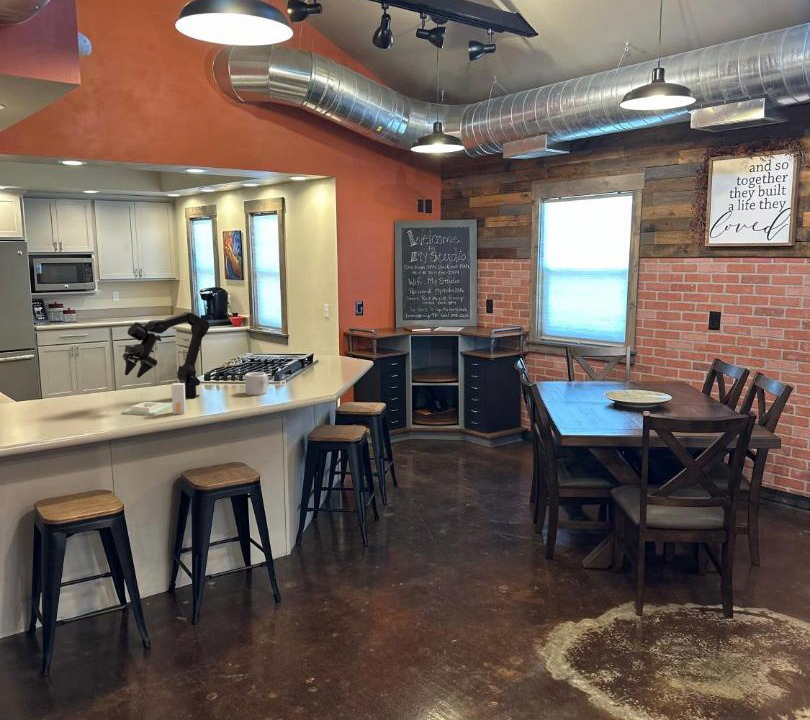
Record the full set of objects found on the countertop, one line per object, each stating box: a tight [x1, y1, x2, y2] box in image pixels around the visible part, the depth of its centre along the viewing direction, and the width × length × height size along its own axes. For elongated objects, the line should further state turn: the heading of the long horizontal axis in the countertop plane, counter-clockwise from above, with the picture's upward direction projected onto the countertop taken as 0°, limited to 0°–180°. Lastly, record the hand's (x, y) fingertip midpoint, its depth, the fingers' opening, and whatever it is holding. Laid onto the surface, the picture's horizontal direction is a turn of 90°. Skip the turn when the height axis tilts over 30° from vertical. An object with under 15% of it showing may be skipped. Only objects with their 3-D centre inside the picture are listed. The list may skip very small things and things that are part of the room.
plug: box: [171, 382, 187, 415], centre depth 302 cm, size 5×5×13 cm
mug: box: [244, 371, 269, 396], centre depth 347 cm, size 14×11×10 cm
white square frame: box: [130, 401, 163, 412], centre depth 305 cm, size 10×10×2 cm
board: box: [121, 401, 172, 416], centre depth 309 cm, size 20×15×1 cm
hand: (131, 376), depth 308 cm, fingers open, 9 cm apart
